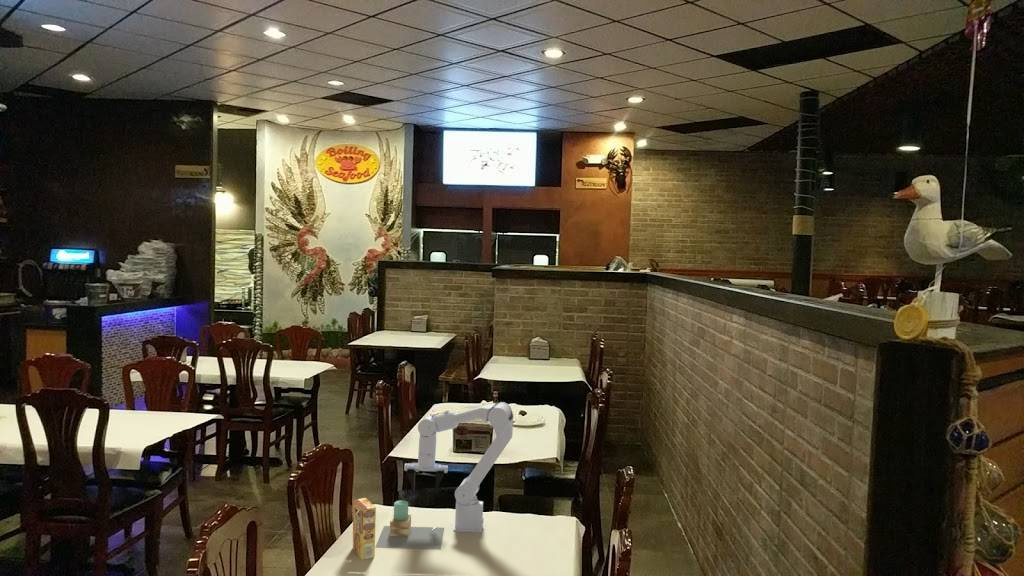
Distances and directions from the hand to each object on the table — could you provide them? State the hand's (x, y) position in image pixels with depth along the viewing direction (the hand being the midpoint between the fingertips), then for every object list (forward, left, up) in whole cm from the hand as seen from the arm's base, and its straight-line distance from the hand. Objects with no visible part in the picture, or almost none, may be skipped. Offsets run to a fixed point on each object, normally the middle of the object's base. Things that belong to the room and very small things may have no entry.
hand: (424, 492), depth 215 cm
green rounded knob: (+7, +9, -6) cm, 13 cm away
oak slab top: (+7, +9, -8) cm, 14 cm away
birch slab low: (+7, +9, -10) cm, 15 cm away
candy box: (+16, +24, -11) cm, 31 cm away
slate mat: (+3, +13, -10) cm, 16 cm away
